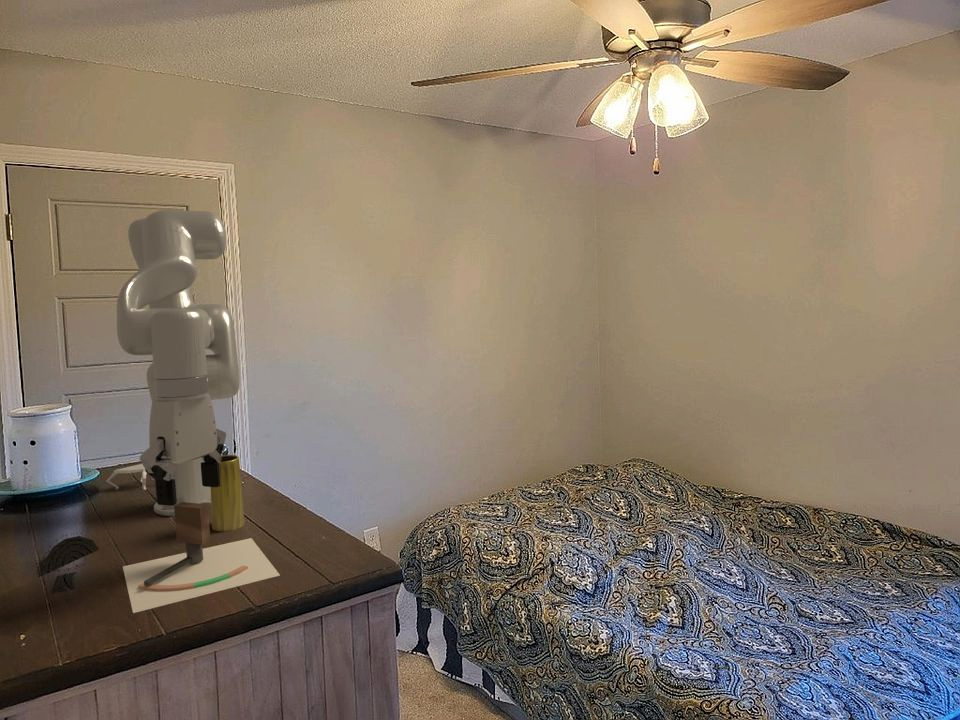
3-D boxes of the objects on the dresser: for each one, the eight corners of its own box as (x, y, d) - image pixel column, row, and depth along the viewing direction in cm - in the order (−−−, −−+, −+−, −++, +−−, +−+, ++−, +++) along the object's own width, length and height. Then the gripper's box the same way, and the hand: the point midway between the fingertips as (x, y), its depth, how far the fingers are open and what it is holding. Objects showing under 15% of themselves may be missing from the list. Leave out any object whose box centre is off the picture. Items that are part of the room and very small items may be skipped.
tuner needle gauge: (187, 555, 107) (183, 501, 106) (213, 558, 105) (209, 503, 104) (133, 586, 96) (127, 526, 95) (160, 590, 95) (155, 529, 94)
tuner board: (123, 575, 104) (122, 564, 104) (251, 546, 115) (251, 535, 115) (134, 623, 89) (132, 610, 89) (280, 584, 100) (280, 572, 99)
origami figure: (161, 478, 158) (159, 458, 157) (169, 486, 151) (168, 465, 151) (105, 488, 151) (103, 468, 150) (111, 497, 144) (109, 475, 143)
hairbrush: (23, 605, 90) (44, 536, 112) (26, 629, 90) (46, 556, 112) (93, 591, 94) (100, 527, 116) (95, 615, 94) (102, 547, 116)
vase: (209, 541, 117) (203, 464, 116) (213, 529, 123) (208, 455, 122) (245, 537, 119) (239, 461, 117) (247, 525, 125) (242, 452, 123)
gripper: (201, 381, 111) (208, 479, 112) (117, 396, 94) (127, 511, 96) (238, 381, 109) (245, 481, 110) (158, 397, 92) (168, 514, 94)
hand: (190, 495), depth 103 cm, fingers open, 9 cm apart
